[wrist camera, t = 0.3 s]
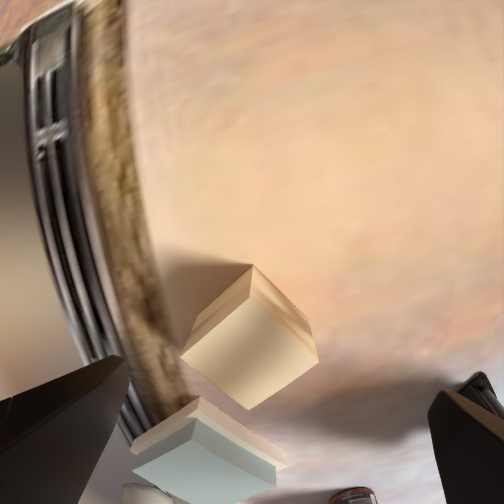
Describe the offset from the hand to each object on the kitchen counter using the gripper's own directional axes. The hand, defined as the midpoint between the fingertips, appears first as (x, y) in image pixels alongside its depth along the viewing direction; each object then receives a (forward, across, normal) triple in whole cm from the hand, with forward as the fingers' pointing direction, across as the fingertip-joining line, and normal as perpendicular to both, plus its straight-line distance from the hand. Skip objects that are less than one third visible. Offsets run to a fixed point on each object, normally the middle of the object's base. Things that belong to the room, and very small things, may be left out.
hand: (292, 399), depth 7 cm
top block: (+12, +3, +21) cm, 24 cm away
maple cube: (+14, +1, +5) cm, 14 cm away
